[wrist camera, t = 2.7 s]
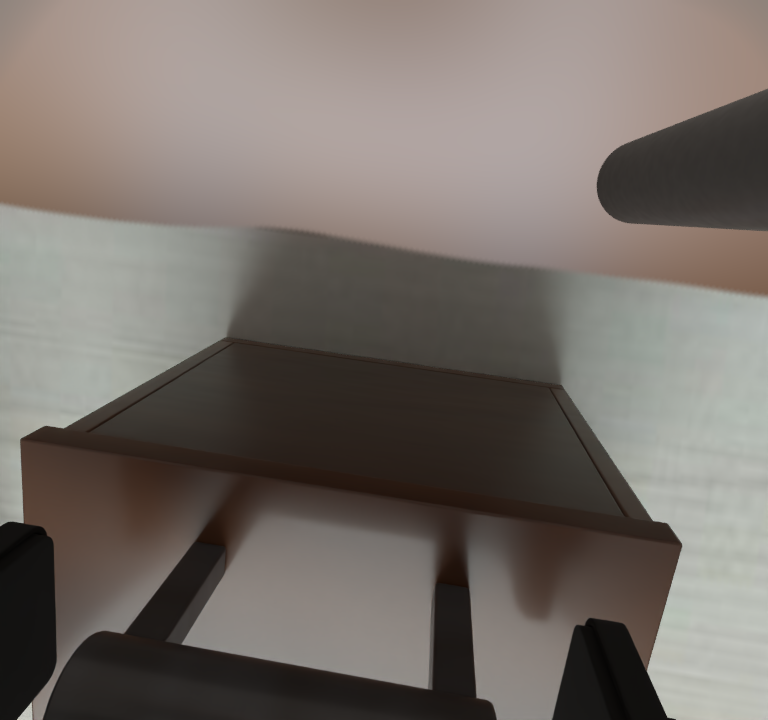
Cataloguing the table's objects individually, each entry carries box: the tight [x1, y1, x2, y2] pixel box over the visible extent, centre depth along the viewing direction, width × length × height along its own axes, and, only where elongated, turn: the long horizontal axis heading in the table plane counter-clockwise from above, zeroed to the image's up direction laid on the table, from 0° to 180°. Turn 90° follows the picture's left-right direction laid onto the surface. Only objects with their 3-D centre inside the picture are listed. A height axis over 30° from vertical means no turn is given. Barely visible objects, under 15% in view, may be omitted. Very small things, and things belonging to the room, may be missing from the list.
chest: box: [64, 338, 653, 521], centre depth 19 cm, size 10×13×11 cm
